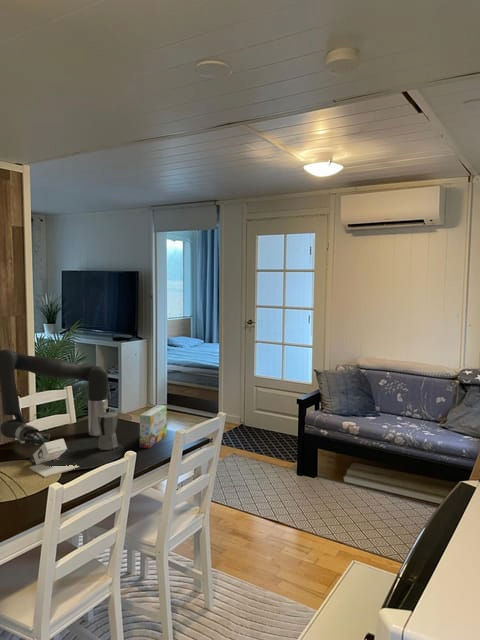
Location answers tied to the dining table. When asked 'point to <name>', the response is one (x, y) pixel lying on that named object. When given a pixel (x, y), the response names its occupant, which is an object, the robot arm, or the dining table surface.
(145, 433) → the snack box
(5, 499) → the dining table surface
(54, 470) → the mat
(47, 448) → the ink box
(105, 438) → the coffeepot
